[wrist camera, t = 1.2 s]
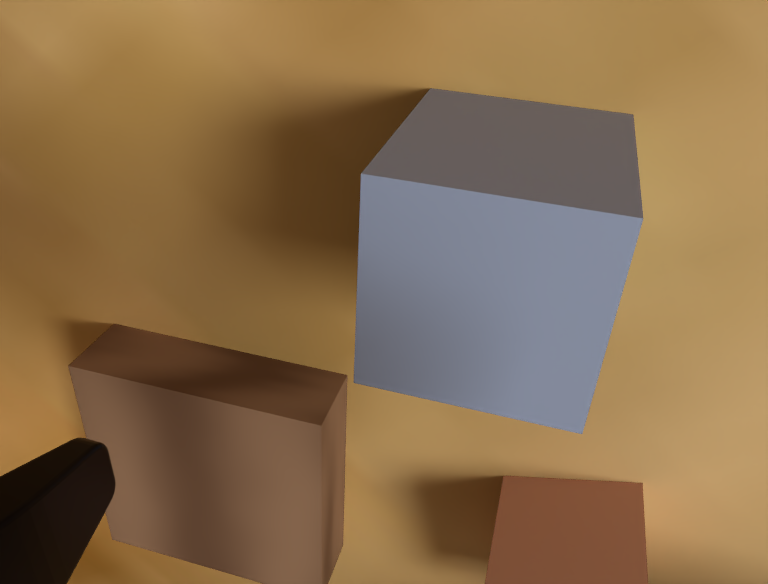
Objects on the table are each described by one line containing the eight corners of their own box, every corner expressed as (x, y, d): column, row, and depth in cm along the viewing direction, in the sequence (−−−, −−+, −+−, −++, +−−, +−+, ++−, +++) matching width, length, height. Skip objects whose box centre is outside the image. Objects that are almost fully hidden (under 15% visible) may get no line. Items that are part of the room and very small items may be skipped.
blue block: (633, 114, 16) (643, 218, 12) (589, 289, 19) (582, 433, 14) (430, 87, 17) (361, 173, 13) (416, 257, 20) (354, 382, 15)
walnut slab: (350, 367, 24) (321, 425, 21) (346, 537, 28) (321, 600, 26) (120, 317, 25) (68, 365, 23) (152, 484, 30) (112, 539, 28)
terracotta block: (642, 480, 22) (648, 602, 18) (645, 573, 24) (651, 699, 21) (503, 474, 24) (484, 585, 20) (517, 561, 26) (502, 677, 22)
